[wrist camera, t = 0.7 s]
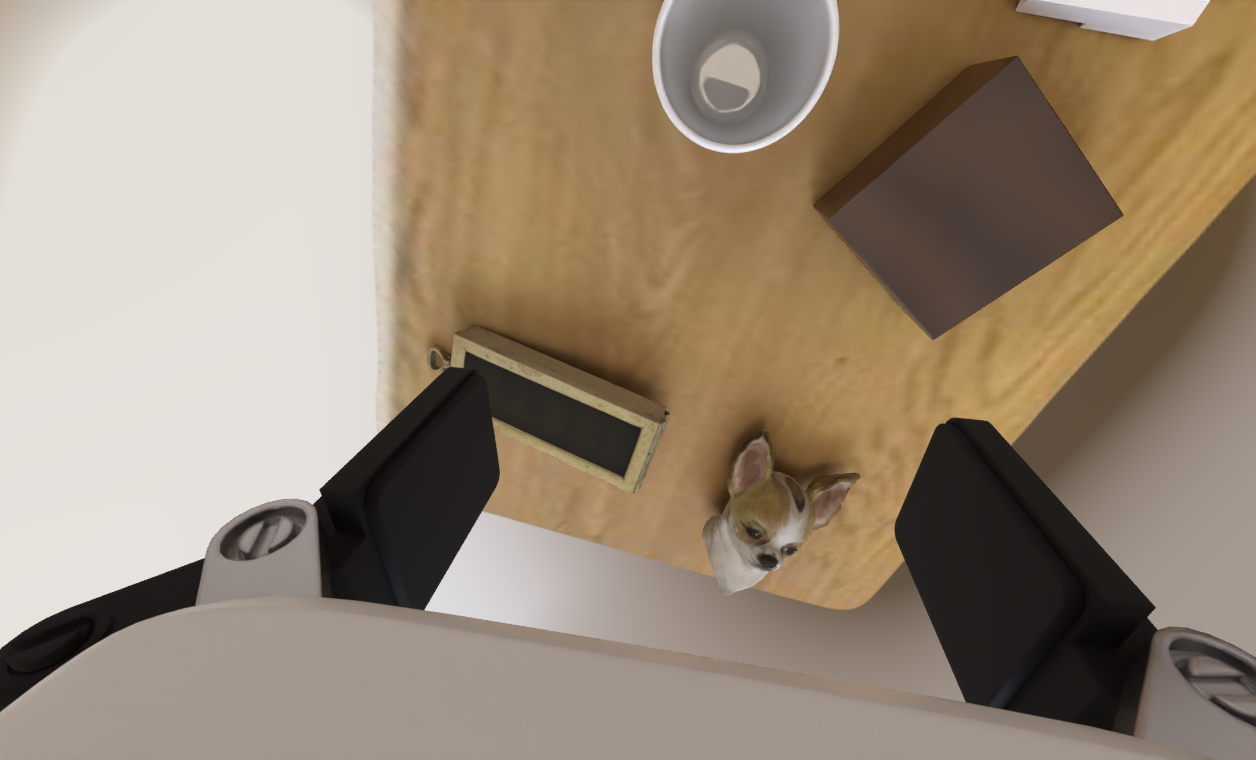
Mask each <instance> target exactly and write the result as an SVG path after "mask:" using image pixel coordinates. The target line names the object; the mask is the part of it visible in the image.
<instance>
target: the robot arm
mask: <svg viewBox="0 0 1256 760" xmlns="http://www.w3.org/2000/svg"><path fill="white" fill-rule="evenodd" d="M499 475H500V470H499V462H498V455H497V448H496V442H495V435H494V428H493V421H492V414H491V407H490V400H489V393H488V386H487V381H486V379H485V377H484V376H480V374H479V372H478V371H477V370H476V369H470V368H460V367H448V368H447V369H446V370H445V371H444V372H443V373H441V374H440V375H439V376H438V377H437V378H436V379H435V380H434V381H433V382H432V383H431V384H430V385H429V386H428V387H427V388H426V389H425V390H424V391H423V392H422V393H420V394H419V395H418V396H417V397H416V398H415V399H414V400H413V401H412V402H411V403H410V404H409V405H408V406H407V407H406V408H405V409H404V410H403V411H402V412H400V413H399V414H398V415H397V416H396V417H395V418H394V419H393V420H392V421H391V422H390V423H389V424H388V425H387V426H386V427H385V428H384V429H383V430H382V431H380V432H379V433H378V434H377V435H376V436H375V437H374V438H373V439H372V440H371V441H370V442H369V443H368V444H367V445H366V446H365V447H364V448H363V449H362V450H361V451H360V452H358V453H357V454H356V456H354V457H353V458H352V459H351V460H350V461H349V462H348V463H347V464H346V465H345V466H344V467H343V468H342V469H341V470H339V472H337V474H335V475H334V476H333V477H332V478H331V479H330V480H329V481H328V482H327V483H326V484H325V485H324V486H323V487H322V488H321V489H320V492H321V495H322V496H321V497H320V498H319V499H318V500H317V501H316V502H315V503H314V504H313V505H312V504H310V503H309V502H308V501H304V500H299V499H282V500H277V501H272V502H268V503H265V504H262V505H260V506H257V507H254V508H252V509H250V510H248V511H246V512H244V513H242V514H240V515H238V516H237V517H235V518H234V519H232V520H231V521H230V522H229V523H227V524H226V525H225V526H223V527H222V528H221V529H220V530H219V531H218V532H217V533H216V534H215V536H214V537H213V538H212V539H211V541H210V544H209V546H208V548H207V551H206V556H205V558H204V559H201V560H198V561H196V562H193V563H190V564H188V565H185V566H182V567H179V568H177V569H174V570H171V571H169V572H166V573H163V574H161V575H158V576H155V577H152V578H150V579H147V580H144V581H141V582H139V583H136V584H133V585H131V586H128V587H125V588H123V589H120V590H117V591H114V592H112V593H109V594H106V595H103V596H101V597H98V598H96V599H93V600H90V601H87V602H84V603H82V604H79V605H76V606H74V607H71V608H68V609H66V610H64V611H61V612H59V613H57V614H55V615H52V616H50V617H48V618H46V619H44V620H42V621H41V622H39V623H37V624H35V625H33V626H32V627H30V628H29V629H27V630H25V631H23V632H22V633H21V634H20V635H18V636H17V637H15V638H14V639H13V640H11V641H10V642H9V643H7V644H6V645H5V646H4V647H2V648H1V649H0V760H1256V657H1254V656H1252V655H1250V654H1248V653H1247V652H1245V651H1243V650H1242V649H1240V648H1238V647H1236V646H1235V645H1232V644H1230V643H1228V642H1226V641H1223V640H1221V639H1219V638H1217V637H1214V636H1212V635H1210V634H1206V633H1203V632H1199V631H1196V630H1193V629H1189V628H1181V627H1167V628H1163V629H1160V630H1157V629H1156V627H1154V625H1153V624H1152V623H1151V622H1150V620H1149V619H1148V618H1147V617H1148V616H1149V614H1150V613H1151V612H1152V611H1153V610H1154V609H1155V608H1156V607H1155V606H1154V605H1153V604H1152V603H1151V602H1150V601H1149V600H1148V598H1147V597H1146V596H1145V595H1144V594H1143V593H1142V592H1141V591H1140V589H1139V588H1138V587H1137V586H1136V585H1135V584H1134V583H1133V582H1132V581H1131V580H1130V578H1129V577H1128V576H1127V575H1126V574H1125V573H1124V572H1123V571H1122V570H1121V569H1120V567H1119V566H1118V565H1117V564H1116V563H1115V562H1114V560H1112V558H1111V557H1110V556H1109V555H1108V554H1107V553H1106V552H1105V551H1104V549H1103V548H1102V547H1101V546H1100V545H1099V544H1098V543H1097V542H1096V540H1095V539H1094V538H1093V537H1092V536H1091V535H1090V534H1089V533H1088V531H1087V530H1086V529H1085V528H1084V527H1083V526H1082V525H1081V524H1080V523H1079V522H1078V521H1077V519H1076V518H1075V517H1074V516H1073V515H1072V514H1071V513H1070V511H1069V510H1068V509H1067V508H1066V507H1065V506H1064V505H1063V504H1062V502H1061V501H1060V500H1059V499H1058V498H1057V497H1056V496H1055V495H1054V494H1053V493H1052V491H1051V490H1050V489H1049V488H1048V487H1047V486H1046V485H1045V484H1044V482H1043V481H1042V480H1041V479H1040V478H1039V477H1038V476H1037V475H1036V474H1035V472H1034V471H1033V470H1032V469H1031V468H1030V467H1029V466H1028V465H1027V463H1026V462H1025V461H1024V460H1023V459H1022V458H1021V457H1020V456H1019V455H1018V454H1017V453H1016V451H1015V450H1014V449H1013V448H1012V447H1011V446H1010V444H1009V443H1008V442H1007V441H1006V440H1005V439H1004V438H1003V437H1002V436H1001V434H1000V433H999V432H998V431H997V430H996V429H995V428H994V427H993V426H992V424H990V423H989V422H988V421H983V420H974V419H964V418H951V419H949V420H948V421H947V422H946V424H939V425H938V426H937V427H936V429H935V431H934V433H933V435H932V438H931V440H930V443H929V445H928V447H927V450H926V452H925V454H924V457H923V459H922V461H921V464H920V466H919V468H918V471H917V473H916V475H915V478H914V480H913V482H912V485H911V487H910V489H909V492H908V494H907V496H906V499H905V501H904V503H903V506H902V508H901V510H900V513H899V515H898V517H897V520H896V523H895V537H896V540H897V543H898V545H899V547H900V550H901V552H902V554H903V557H904V559H905V561H906V563H907V566H908V568H909V571H910V573H911V575H912V578H913V580H914V582H915V585H916V587H917V589H918V592H919V594H920V596H921V599H922V601H923V603H924V606H925V608H926V610H927V613H928V615H929V617H930V619H931V622H932V624H933V627H934V629H935V631H936V634H937V636H938V638H939V641H940V643H941V645H942V648H943V650H944V652H945V655H946V657H947V659H948V662H949V664H950V666H951V669H952V671H953V673H954V675H955V678H956V680H957V683H958V685H959V687H960V689H961V692H962V694H963V697H964V699H965V701H966V703H965V702H960V701H953V700H948V699H942V698H937V697H931V696H925V695H920V694H914V693H909V692H902V691H897V690H892V689H886V688H880V687H875V686H869V685H863V684H858V683H852V682H846V681H840V680H835V679H829V678H824V677H818V676H812V675H806V674H801V673H795V672H790V671H784V670H778V669H772V668H766V667H760V666H755V665H749V664H743V663H737V662H731V661H725V660H720V659H714V658H708V657H702V656H696V655H691V654H684V653H678V652H672V651H667V650H661V649H655V648H649V647H644V646H638V645H632V644H626V643H620V642H614V641H608V640H602V639H597V638H591V637H584V636H578V635H572V634H566V633H560V632H554V631H548V630H542V629H536V628H530V627H524V626H518V625H512V624H506V623H500V622H493V621H488V620H482V619H475V618H470V617H463V616H457V615H451V614H445V613H438V612H431V611H424V609H425V608H426V606H427V604H428V603H429V601H430V599H431V597H432V596H433V594H434V592H435V591H436V589H437V587H438V585H439V584H440V582H441V580H442V579H443V577H444V575H445V574H446V572H447V570H448V568H449V567H450V565H451V563H452V562H453V560H454V558H455V556H456V554H457V553H458V551H459V550H460V548H461V546H462V544H463V543H464V541H465V539H466V538H467V536H468V534H469V532H470V531H471V529H472V527H473V526H474V524H475V522H476V520H477V519H478V517H479V515H480V514H481V512H482V510H483V508H484V507H485V505H486V503H487V502H488V500H489V498H490V497H491V495H492V493H493V491H494V490H495V488H496V486H497V484H498V481H499Z"/></svg>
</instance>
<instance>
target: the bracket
mask: <svg viewBox="0 0 1256 760" xmlns="http://www.w3.org/2000/svg"><path fill="white" fill-rule="evenodd" d="M1209 1H1210V0H1020V2H1019V4H1018V6H1017V8H1016V10H1015V11H1016V12H1022V13H1027V14H1033V15H1039V16H1045V17H1050V18H1056V19H1062V20H1068V21H1074V22H1079V23H1082V24H1081V26H1080V27H1079V28H1084V29H1090V30H1095V31H1101V32H1107V33H1113V34H1118V35H1124V36H1130V37H1135V38H1141V39H1147V40H1152V41H1154V40H1157V39H1159V38H1162V37H1165V36H1167V35H1170V34H1172V33H1175V32H1178V31H1180V30H1183V29H1186V28H1188V27H1191V26H1193V25H1194V23H1195V22H1196V20H1197V19H1198V17H1199V16H1200V14H1201V13H1202V12H1203V10H1204V9H1205V7H1206V6H1207V4H1208V3H1209Z"/></svg>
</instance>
